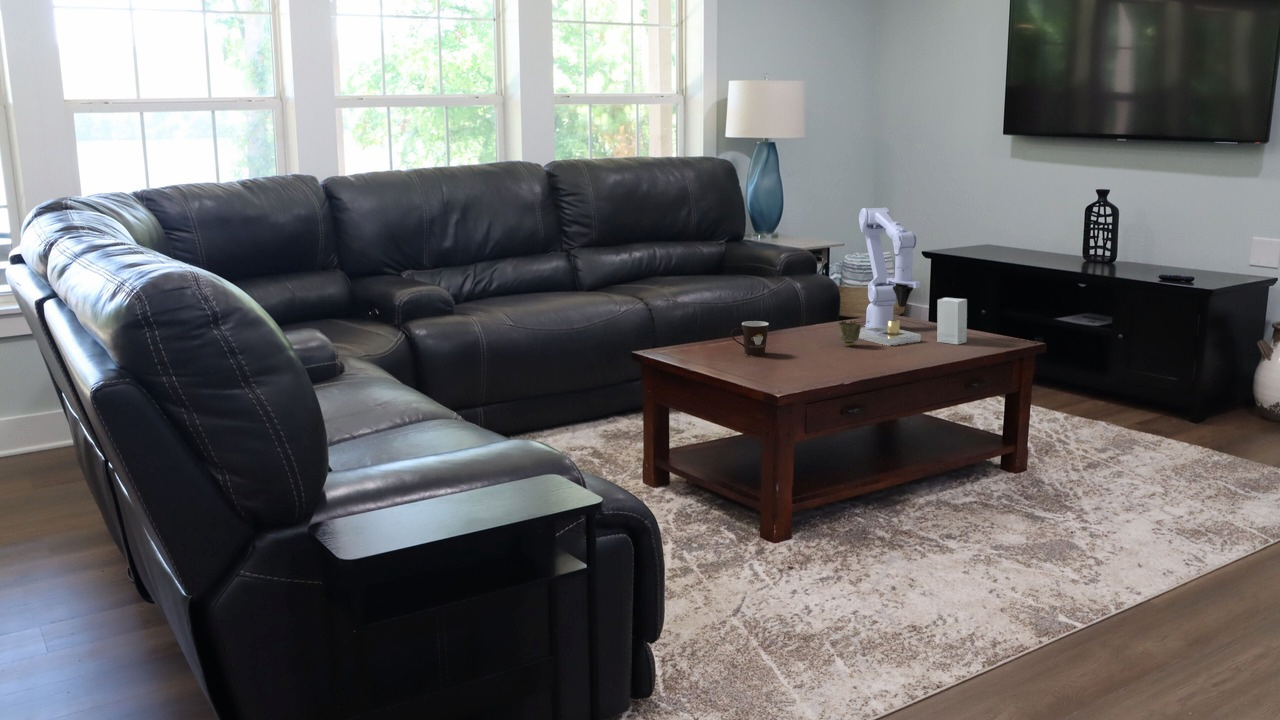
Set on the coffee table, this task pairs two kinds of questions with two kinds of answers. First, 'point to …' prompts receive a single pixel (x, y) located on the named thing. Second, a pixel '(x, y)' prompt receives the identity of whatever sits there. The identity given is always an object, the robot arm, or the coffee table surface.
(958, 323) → the skincare box
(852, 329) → the cup
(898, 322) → the brass sleeve
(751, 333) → the coffee mug
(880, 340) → the jig plate
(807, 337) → the coffee table surface
